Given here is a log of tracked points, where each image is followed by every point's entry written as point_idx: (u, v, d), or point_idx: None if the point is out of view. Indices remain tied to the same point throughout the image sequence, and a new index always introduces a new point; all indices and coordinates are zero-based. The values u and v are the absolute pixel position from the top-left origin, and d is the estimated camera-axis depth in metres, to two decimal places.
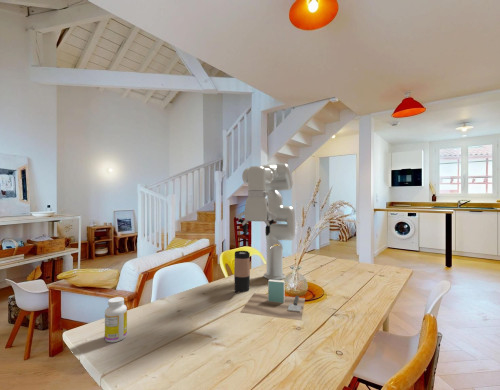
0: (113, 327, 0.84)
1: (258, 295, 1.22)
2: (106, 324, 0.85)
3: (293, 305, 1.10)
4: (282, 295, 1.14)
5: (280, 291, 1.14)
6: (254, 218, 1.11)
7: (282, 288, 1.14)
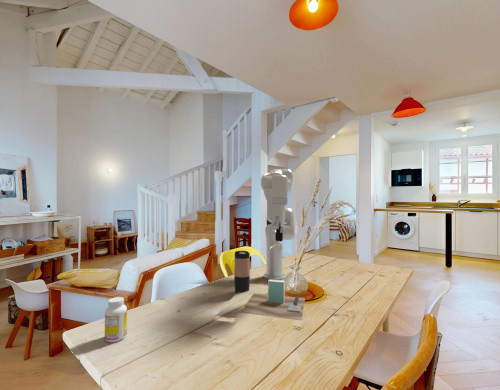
0: (113, 327, 0.84)
1: (258, 295, 1.22)
2: (106, 324, 0.85)
3: (293, 305, 1.10)
4: (282, 295, 1.14)
5: (280, 291, 1.14)
6: (283, 223, 1.22)
7: (282, 288, 1.14)
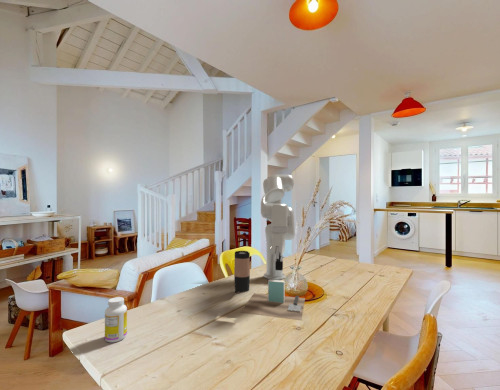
0: (113, 327, 0.84)
1: (258, 295, 1.22)
2: (106, 324, 0.85)
3: (293, 305, 1.10)
4: (282, 295, 1.14)
5: (280, 291, 1.14)
6: (283, 252, 1.21)
7: (282, 288, 1.14)
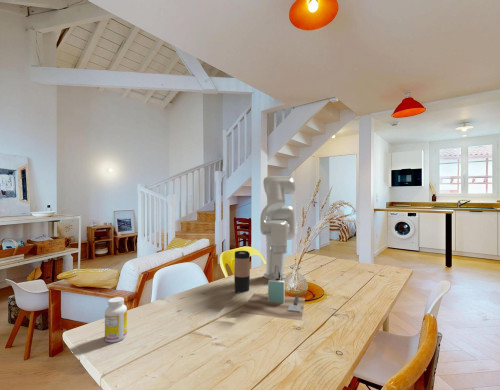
0: (113, 327, 0.84)
1: (258, 295, 1.22)
2: (106, 324, 0.85)
3: (293, 305, 1.10)
4: (282, 295, 1.14)
5: (280, 291, 1.14)
6: (283, 270, 1.20)
7: (282, 288, 1.14)
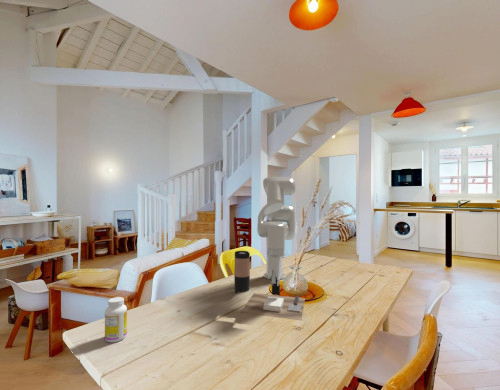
0: (113, 327, 0.84)
1: (258, 295, 1.22)
2: (106, 324, 0.85)
3: (293, 305, 1.10)
4: None
5: None
6: (280, 275, 1.13)
7: None
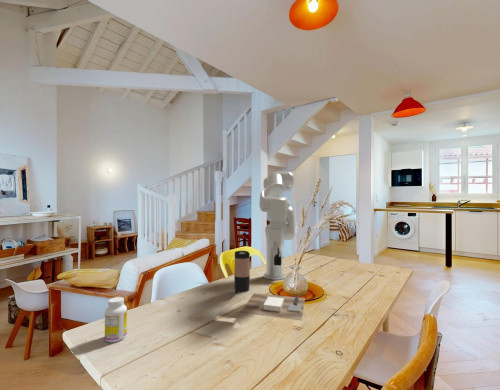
0: (113, 327, 0.84)
1: (258, 295, 1.22)
2: (106, 324, 0.85)
3: (293, 305, 1.10)
4: None
5: None
6: (282, 247, 1.19)
7: None
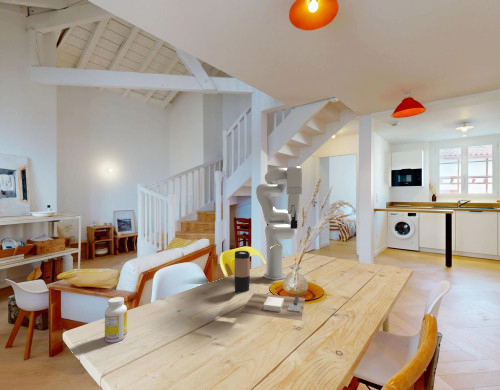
0: (113, 327, 0.84)
1: (258, 295, 1.22)
2: (106, 324, 0.85)
3: (293, 305, 1.10)
4: None
5: None
6: (298, 211, 1.29)
7: None
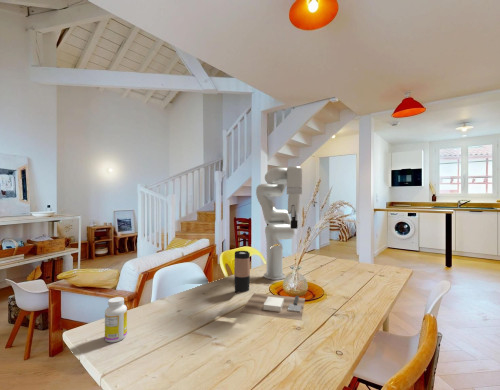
0: (113, 327, 0.84)
1: (258, 295, 1.22)
2: (106, 324, 0.85)
3: (293, 305, 1.10)
4: None
5: None
6: (298, 211, 1.29)
7: None
